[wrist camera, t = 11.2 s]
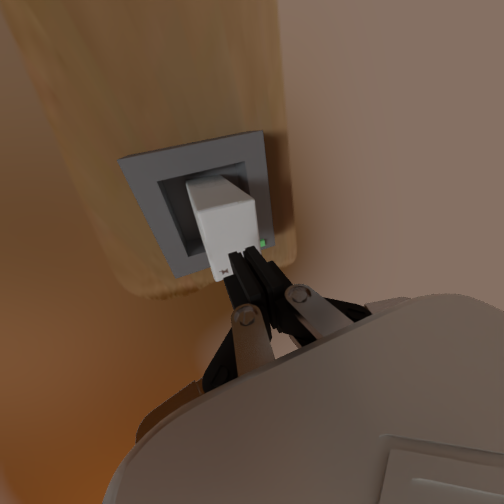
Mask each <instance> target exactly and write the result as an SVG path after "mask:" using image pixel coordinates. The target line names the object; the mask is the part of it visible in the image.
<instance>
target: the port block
mask: <svg viewBox="0 0 504 504" xmlns="http://www.w3.org/2000/svg"><path fill="white" fill-rule="evenodd" d="M117 161H118V163H119V165H120V167H121V169H122V172H123V174H124V176H125V178H126V180H127V182H128V184H129V186H130V188H131V190H132V192H133V194H134V196H135V198H136V200H137V202H138V204H139V206H140V208H141V210H142V212H143V214H144V216H145V218H146V220H147V222H148V224H149V226H150V228H151V230H152V232H153V234H154V236H155V238H156V240H157V242H158V244H159V246H160V248H161V250H162V252H163V254H164V256H165V258H166V260H167V262H168V264H169V266H170V268H171V270H172V272H173V274H174V276H175V278H179V277H182V276H185V275H188V274H191V273H194V272H197V271H200V270H203V269H206V268H209V267H210V264H209V260H208V257H207V254H206V250H205V247H204V244H203V241H202V238H201V235H200V232H199V228H198V225H197V222H196V219H195V215H194V212H193V209H192V205H191V202H190V199H189V195H188V191H187V187H186V183H185V181H186V180H191V179H197V178H202V177H208V176H214V175H221V176H223V177H224V178H225V179H227V180H228V181H230V182H231V183H232V184H234V185H235V186H237V187H238V188H239V189H241V190H242V191H244V192H245V193H246V194H248V195H249V196H251V197H252V198H254V199H255V206H256V214H257V223H258V230H259V238H260V245H261V250H263V249H266V248H268V247H271V246H274V245H275V239H274V230H273V220H272V211H271V202H270V192H269V183H268V174H267V165H266V155H265V146H264V137H263V130H262V131H247V132H242V133H237V134H232V135H227V136H222V137H217V138H212V139H207V140H202V141H197V142H192V143H187V144H182V145H177V146H173V147H168V148H163V149H158V150H153V151H148V152H143V153H138V154H133V155H128V156H125V157H123V158H120V159H118V160H117Z"/></svg>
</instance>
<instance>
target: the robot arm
mask: <svg viewBox="0 0 504 504" xmlns="http://www.w3.org/2000/svg"><path fill="white" fill-rule="evenodd" d="M243 256H244V257H243ZM228 257H229V260H230V264H231V268H232V271H233V275H230V276H227V277H224V278H223V280H224V283H225V286H226V289H227V292H228V295H229V298H230V301H231V303H232V306H233V309H234V311H233V313H232V315H231V324H232V327H231V329H230V331H229V333H228V334H227V336H226V337H225V339H224V341H223V343H222V344H221V346H220V348H219V349H218V351H217V353H216V354H215V356H214V358H213V359H212V361H211V363H210V364H209V366H208V368H207V369H206V371H205V373H204V376H203V377H202V378H201V379H200V380H198V381H197V382H195V380H194V381H193V382H191V383H190V384H189V385H187V386H186V387H185V388H183V389H182V390H180V391H179V392H178V393H176V394H175V395H173V396H172V397H171V398H169V399H168V400H166V401H165V402H164V403H162V404H161V405H159V406H158V407H157V408H155V409H154V410H153V411H151V412H150V413H149V414H148V415H147V416H146V417H145V418H144V419H143V421H142V422H141V424H140V425H139V428H138V430H137V433H136V442H135V443H136V445H135V446H134V447H133V448H132V449H131V451H130V452H129V453H128V454H127V456H126V457H125V458H124V460H123V461H122V462H121V464H120V465H119V467H118V468H117V470H116V472H115V474H114V475H113V478H112V480H111V482H110V484H109V486H108V489H107V491H106V494H105V497H104V500H103V503H102V504H504V311H502V310H500V309H498V308H496V307H494V306H491V305H489V304H487V303H485V302H482V301H480V300H477V299H475V298H472V297H469V296H464V295H459V294H432V295H426V296H420V297H416V298H412V299H411V298H406V297H399V298H394V299H388V300H383V301H378V302H373V303H367V304H365V305H364V306H360V305H357V304H353V303H348V302H344V301H339V300H334V299H329V298H324V297H322V296H320V295H319V294H318V293H317V292H315V291H314V290H313V289H312V288H310V287H309V286H306V285H304V284H294V285H293V284H292V283H291V282H290V281H289V279H288V278H287V277H286V276H285V275H284V274H283V272H282V271H281V270H280V269H279V267H278V266H277V265H276V264H275V263H274V262H273V261H269V262H266V260H265V259H264V258H263V257H262V255H261V254H260V253H259V251H258V250H257V249H256V247H255V246H254V245H253V246H250V247H247V248H245V251H243V255H242V254H241V252H239V253H237V251H235V252H232V253H229V254H228ZM270 324H271V326H272V328H273V329H275V328H277V330H278V332H279V333H281V332H283V333H285V334H289V337H290V339H291V340H292V341H293V343H294V344H295V345H296V346H297V347H298V349H297V350H295V351H293V352H291V353H289V354H286V355H284V356H282V357H280V358H278V359H276V360H275V357H274V354H273V350H272V347H271V344H270V342H271V339H272V335H271V327H270Z"/></svg>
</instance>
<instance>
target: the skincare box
mask: <svg viewBox="0 0 504 504" xmlns="http://www.w3.org/2000/svg"><path fill="white" fill-rule="evenodd" d="M185 183H186V187H187V191H188V195H189V199H190V202H191V205H192V209H193V212H194V215H195V219H196V222H197V225H198V228H199V232H200V235H201V238H202V241H203V244H204V247H205V250H206V254H207V257H208V260H209V264H210V267H211V270H212V273H213V276H214V279H215V281H216V282H218V281H221V280H223V278H224V277H227V276H230V275H233V271H232V268H231V264H230V260H229V257H228V254H229V253H232V252H235V251H237V253H239V252H241V254H242V255H243V251H245V248H247V247H250V246H253V245H254V246H255V247H256V249H257V250H258V251H259V253H260V254H261V245H260V238H259V230H258V223H257V214H256V206H255V199H254V198H252V197H251V196H249V195H248V194H246V193H245V192H244V191H242V190H241V189H239V188H238V187H237V186H235V185H234V184H232V183H231V182H230V181H228V180H227V179H225V178H224V177H223V176H221V175H214V176H208V177H202V178H197V179H191V180H186V181H185ZM261 255H262V254H261ZM243 257H244V256H243Z"/></svg>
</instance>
